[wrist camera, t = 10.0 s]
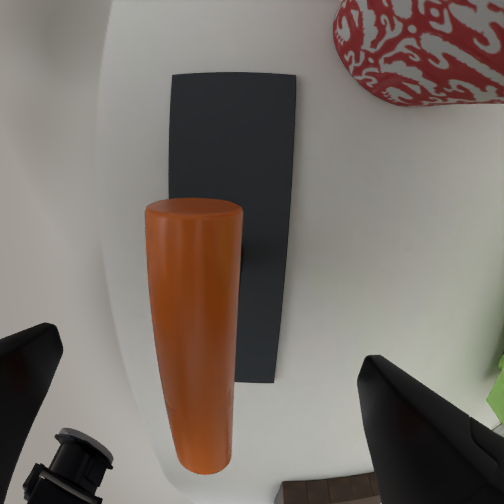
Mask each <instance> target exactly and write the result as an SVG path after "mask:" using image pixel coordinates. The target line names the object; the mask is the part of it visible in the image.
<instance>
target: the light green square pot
mask: <svg viewBox="0 0 504 504" xmlns="http://www.w3.org/2000/svg"><path fill="white" fill-rule="evenodd" d="M498 367H499V369H502V370H501V372H500V374H499V376H498V378H497V380H496V382H495V384H494V386H493V388H492V390H491V392H490V394H489V396H488V398H487V399H486V401H487V402H488V404H489V405H490V406H491V408H492V409H493V411H494V412H495V414H496V415H497V417H498V418H499V420H500V421H501V423H502V424H503V426H504V354H503V355H502V357H501V359H500V361H499V364H498Z"/></svg>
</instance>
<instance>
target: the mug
mask: <svg viewBox="0 0 504 504" xmlns="http://www.w3.org/2000/svg"><path fill="white" fill-rule="evenodd" d="M333 37H334V43H335V46H336V49H337V52H338V54H339V56H340V58H341V60H342V62H343V64H344V65H345V67H346V68H347V70H348V71H349V72H350V74H351V75H352V76H353V77H354V78H355V79H356V80H357V81H358V82H359V83H360V85H362V86H363V87H364V88H365V89H366V90H368V91H369V92H371V93H372V94H373V95H375V96H377V97H379V98H380V99H382V100H384V101H387V102H389V103H392V104H395V105H398V106H405V107H422V106H435V105H448V104H504V0H343V1H342V3H341V5H340V7H339V9H338V11H337V14H336V16H335V20H334V24H333Z"/></svg>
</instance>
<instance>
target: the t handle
mask: <svg viewBox="0 0 504 504" xmlns="http://www.w3.org/2000/svg"><path fill="white" fill-rule="evenodd" d="M242 226H243V210H242V207H241V206H239V205H237V204H235V203H233V202H229V201H225V200H219V199H210V198H175V199H166V200H161V201H157V202H154V203H152V204H149V205H148V206H147V207H146V210H145V234H146V255H147V271H148V283H149V295H150V305H151V314H152V323H153V331H154V339H155V346H156V353H157V359H158V366H159V372H160V378H161V383H162V389H163V394H164V399H165V404H166V409H167V414H168V419H169V423H170V428H171V432H172V436H173V441H174V445H175V449H176V453H177V456H178V459H179V461H180V463H181V464H182V465H183V466H184V467H185V468H186V469H187V470H189V471H191V472H194V473H197V474H203V475H209V474H214V473H217V472H219V471H221V470H223V469H224V468H225V467H226V466H227V465H228V464H229V462H230V460H231V453H232V427H233V402H234V379H235V357H236V336H237V316H238V303H239V294H240V285H241V277H242V268H243V259H244V250H243V247H242V245H241V243H242Z"/></svg>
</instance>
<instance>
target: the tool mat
mask: <svg viewBox="0 0 504 504" xmlns="http://www.w3.org/2000/svg"><path fill="white" fill-rule="evenodd" d="M295 102H296V75H286V74H272V73H248V72H216V73H192V74H177V75H172V88H171V104H170V126H169V199H175V198H210V199H219V200H225V201H229V202H233V203H235V204H237V205H239V206H241V207H242V210H243V226H242V243H241V245H242V247H243V250H244V259H243V268H242V277H241V285H240V294H239V303H238V316H237V336H236V357H235V379H234V382H247V383H274V376H275V368H276V359H277V350H278V341H279V332H280V322H281V312H282V302H283V291H284V281H285V269H286V257H287V245H288V232H289V218H290V203H291V187H292V170H293V151H294V129H295Z"/></svg>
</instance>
